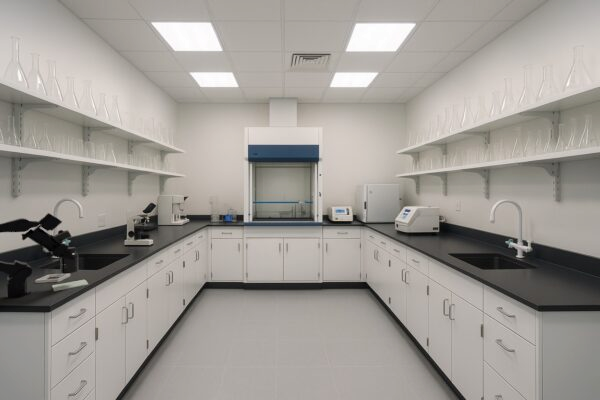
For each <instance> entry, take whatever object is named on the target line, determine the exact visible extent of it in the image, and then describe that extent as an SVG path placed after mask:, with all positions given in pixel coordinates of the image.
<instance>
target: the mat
mask: <svg viewBox="0 0 600 400" xmlns="http://www.w3.org/2000/svg"><path fill="white" fill-rule="evenodd" d="M84 286H89V283H88V281H87V280H86V279H80V280H75V281H68V282H63V283H59V284H53V285H51V287H52V290H53V292H57V291H62V290H63V291H64V290H69V289H73V288H78V287H79V288H80V287H84Z"/></svg>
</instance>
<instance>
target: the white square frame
mask: <svg viewBox="0 0 600 400" xmlns="http://www.w3.org/2000/svg"><path fill="white" fill-rule="evenodd" d="M70 277H71V273H69V274H62V273H54V274H53V273H51V274H47V275H44V276H42V277H39V278H37V279H35V284H44V283H46V284H47V283H59V282H61V281H63V280H65V279H68V278H70Z"/></svg>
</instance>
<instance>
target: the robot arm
mask: <svg viewBox="0 0 600 400" xmlns="http://www.w3.org/2000/svg"><path fill="white" fill-rule="evenodd" d="M61 224H63V221H62V220H61V219H59V218H58V217H57V216H54V215H53V214H52V213H49V212H47V213H46V214H45V216H44V217H42V218H41V219H40V220H39V221H36V220H29V219H27V218H23V217H22V218H21V217H20V218H16V219H13V220H10V221H9V220H8V221H6V222H2V223H0V233H21V240H22V241H25V240H26V239H29V240H31V241H33V242H34V243H36V244H38V245H39V246H40V247H42V248H44V249H45V250H47V251H48V252H49V253H51V255H52V256H53V257H54V258H60V259H61V258H65V259H70V260H74V259H75V258H74V257H73V256H72V255H71V254H70V253H69V252H68V247H69V246H68V245H66V243H64V242H62V241H64V240H66V239H69V238H72V237H73V236H72V234H71V233H70V231H69V230H68V229H67V230H62V229H59V230H58V231H57V233H56V234H55V235H52V234H49V233H48V231H51V232H53V231H54V230H55V229H56V228H57V227H58V226H60V225H61ZM32 228H33V229H32ZM43 229H44V230H43ZM24 232H26V233H24ZM0 272H1V273H4V274H6V275H7V277H6V279H7V283H6V287H7V288H6V289H7V295H5V296H3V299H10V298H11V299H13V298H15V299H16V298H22V297H24V296H26V295H28V294H30V293H31V291H30V290H29V291H28V282H27V280H28V278H29V277H30V276H31V275H32V274H33V269H32V267H31V266H30V265H29V264H28V263H27V262H26V261H20V260H16V259H15V260H14V262H7V261H1V260H0Z"/></svg>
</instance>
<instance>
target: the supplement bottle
mask: <svg viewBox="0 0 600 400" xmlns="http://www.w3.org/2000/svg"><path fill="white" fill-rule="evenodd" d="M68 252H69V253H70V254H71V255H72V256H73V257H74V258H75V259H74V260H70V259H65V258H60V274H69V273H70V274H73V273H74V274H75V273H77V272H79V254H78V252H77V249H76V247H75V246H72V247H71V246H68Z"/></svg>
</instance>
